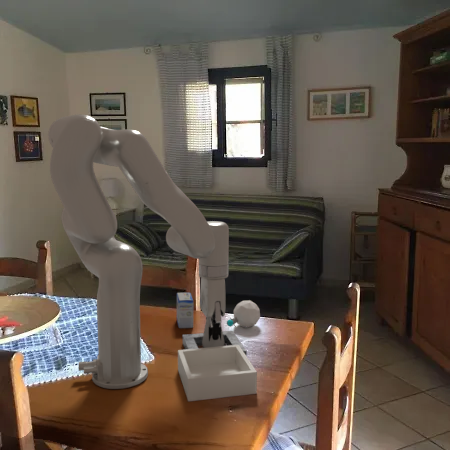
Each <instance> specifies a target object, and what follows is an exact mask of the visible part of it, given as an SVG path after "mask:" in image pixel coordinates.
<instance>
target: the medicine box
mask: <svg viewBox="0 0 450 450" xmlns="http://www.w3.org/2000/svg"><path fill="white" fill-rule="evenodd" d="M194 305H195V304H194V299H193V295H192V293H191V292H177V293H176V322H177V326H178V328H179V329H192V328H194Z"/></svg>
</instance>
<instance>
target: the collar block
mask: <svg viewBox="0 0 450 450" xmlns="http://www.w3.org/2000/svg"><path fill="white" fill-rule="evenodd" d="M222 332H223V337H224V345H226V346H230V345H239V346H240V347H241V349H242V350H243V352H244V353H245V355H246V356H247V355H248V354H247V351H248V350H246V348H245V347H244V345H243V344H242V342H241V341H240V340H239V337H237V335H236V333H235V332H234V331H233V330H227V331H226V330H225V331H224V330H222ZM203 335H204V332H202V333H191V334H190V333H189V334H182V345H183V348H184V350H186V349H197V348H199V347H200V346H202V347H203V345H202V340H203ZM247 357H248V356H247Z"/></svg>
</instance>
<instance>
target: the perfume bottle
mask: <svg viewBox="0 0 450 450" xmlns="http://www.w3.org/2000/svg"><path fill="white" fill-rule="evenodd" d="M260 319H261V313H260V308H259V306H258V305H257V304H256V303H255V302H253V301H252V300H250V299H249V300H242V301H240V302H238V303H237V304H236V306H235V307H234V309H233V318H232V317H229V319H227V320H226V324H227V325H226V326H228V327H233V326H234V328H236V329H237V325H238V326H241V327H242V328H252V327H254V326H255V325H256V324H257V323H258V321H259V320H260ZM236 323H237V325H235V324H236Z"/></svg>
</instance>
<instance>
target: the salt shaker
mask: <svg viewBox="0 0 450 450" xmlns="http://www.w3.org/2000/svg"><path fill="white" fill-rule="evenodd" d="M221 311H222V310H221ZM213 315H215V313H214V314H213ZM213 320H215V318H213ZM209 327H210V317H209V318H206V317H205V325H204V331H203V333H204V335H203V340H202V345H203V346H202V348H208V347H219V346H225V344H224V337H223V327H222V326H221V340H220V336H219V339H218V340H213V338H212V335H211V338H210V341H209Z"/></svg>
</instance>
